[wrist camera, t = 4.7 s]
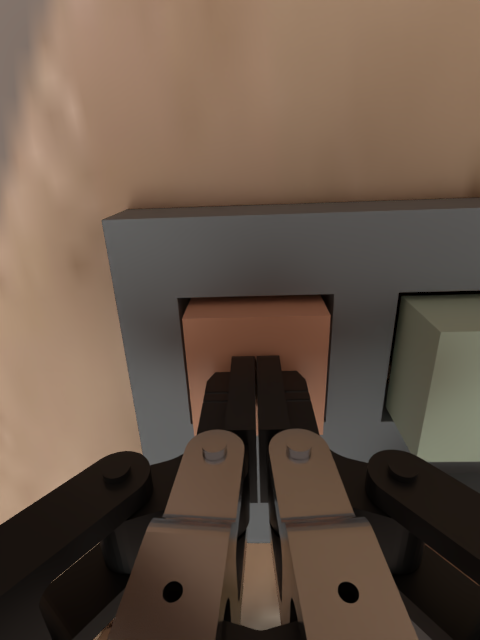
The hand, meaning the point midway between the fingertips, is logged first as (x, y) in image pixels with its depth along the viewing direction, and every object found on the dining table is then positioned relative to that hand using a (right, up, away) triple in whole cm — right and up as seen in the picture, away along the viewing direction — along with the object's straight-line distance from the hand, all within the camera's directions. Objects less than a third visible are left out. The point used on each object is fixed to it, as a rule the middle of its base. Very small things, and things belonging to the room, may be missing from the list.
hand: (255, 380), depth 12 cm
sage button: (+7, +1, +1) cm, 7 cm away
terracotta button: (0, +1, +3) cm, 3 cm away
